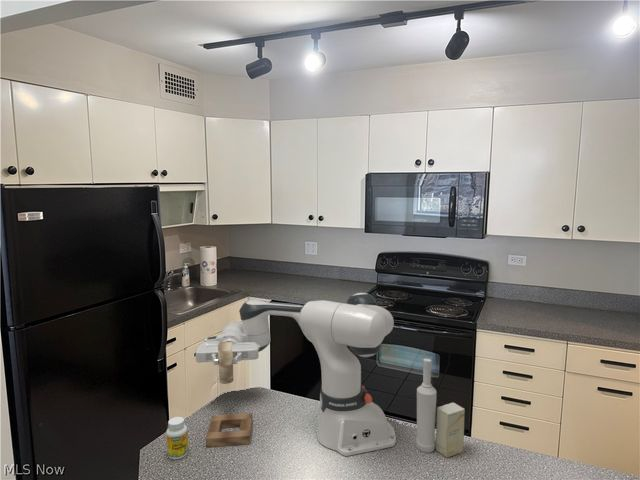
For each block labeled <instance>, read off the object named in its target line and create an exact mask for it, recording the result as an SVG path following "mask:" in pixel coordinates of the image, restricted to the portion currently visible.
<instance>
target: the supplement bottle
mask: <svg viewBox="0 0 640 480" xmlns="http://www.w3.org/2000/svg"><path fill="white" fill-rule="evenodd" d="M167 424H168V425H167V429H166V431H165V432H166V434H165V435H166V447H167V457H168V458H169V459H171V460H180V459H182V458H184V457H186V456H187V455H188V453H189V452H190V451H189V435H188V434H189V433H188V427H187V425H186V424H185V418H184V417H182V416H174V417H172V418H170V419H169V420H168V422H167Z"/></svg>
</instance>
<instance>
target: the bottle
mask: <svg viewBox="0 0 640 480" xmlns="http://www.w3.org/2000/svg"><path fill="white" fill-rule="evenodd" d="M422 362H423V365H422V366H423V369H422V370H423V371H422V372H423V373H422V383H421V385H419V386H417V388H416V439H415V445H416V449H417V450H418V451H420V452H422V453H425V454H428V453H429V454H430V453H432V452H434V451H435V449H436V440H435V437H436V416H437V394H438V393H437V389H435V387H434V386H433V384H432V383H431V381H432V374H431V373H432V360H431V358H423V360H422Z"/></svg>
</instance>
